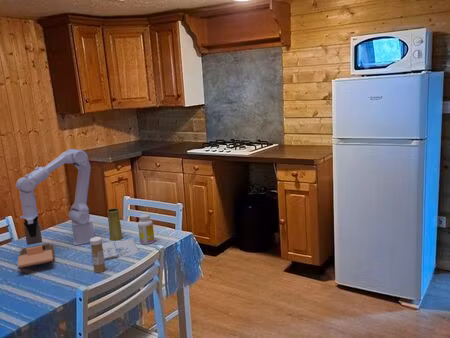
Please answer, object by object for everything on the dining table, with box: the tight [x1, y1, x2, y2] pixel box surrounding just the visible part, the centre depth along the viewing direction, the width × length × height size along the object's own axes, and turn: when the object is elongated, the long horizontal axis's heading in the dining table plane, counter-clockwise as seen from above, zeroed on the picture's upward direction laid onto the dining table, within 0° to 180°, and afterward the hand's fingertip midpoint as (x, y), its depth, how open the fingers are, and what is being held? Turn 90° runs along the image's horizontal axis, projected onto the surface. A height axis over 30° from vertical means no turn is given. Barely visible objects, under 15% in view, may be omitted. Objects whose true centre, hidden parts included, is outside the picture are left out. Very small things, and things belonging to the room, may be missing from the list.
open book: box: [90, 238, 140, 261], centre depth 188 cm, size 19×20×2 cm
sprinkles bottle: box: [89, 236, 106, 274], centre depth 167 cm, size 5×5×14 cm
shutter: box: [16, 244, 54, 269], centre depth 174 cm, size 13×11×4 cm
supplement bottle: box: [137, 213, 155, 245], centre depth 194 cm, size 7×7×13 cm
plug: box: [23, 221, 43, 246], centre depth 184 cm, size 6×4×8 cm, turn 114°
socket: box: [18, 243, 55, 269], centre depth 186 cm, size 14×20×3 cm
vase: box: [106, 207, 124, 242], centre depth 201 cm, size 6×6×14 cm
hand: (33, 235), depth 184 cm, fingers closed on plug, 4 cm apart
